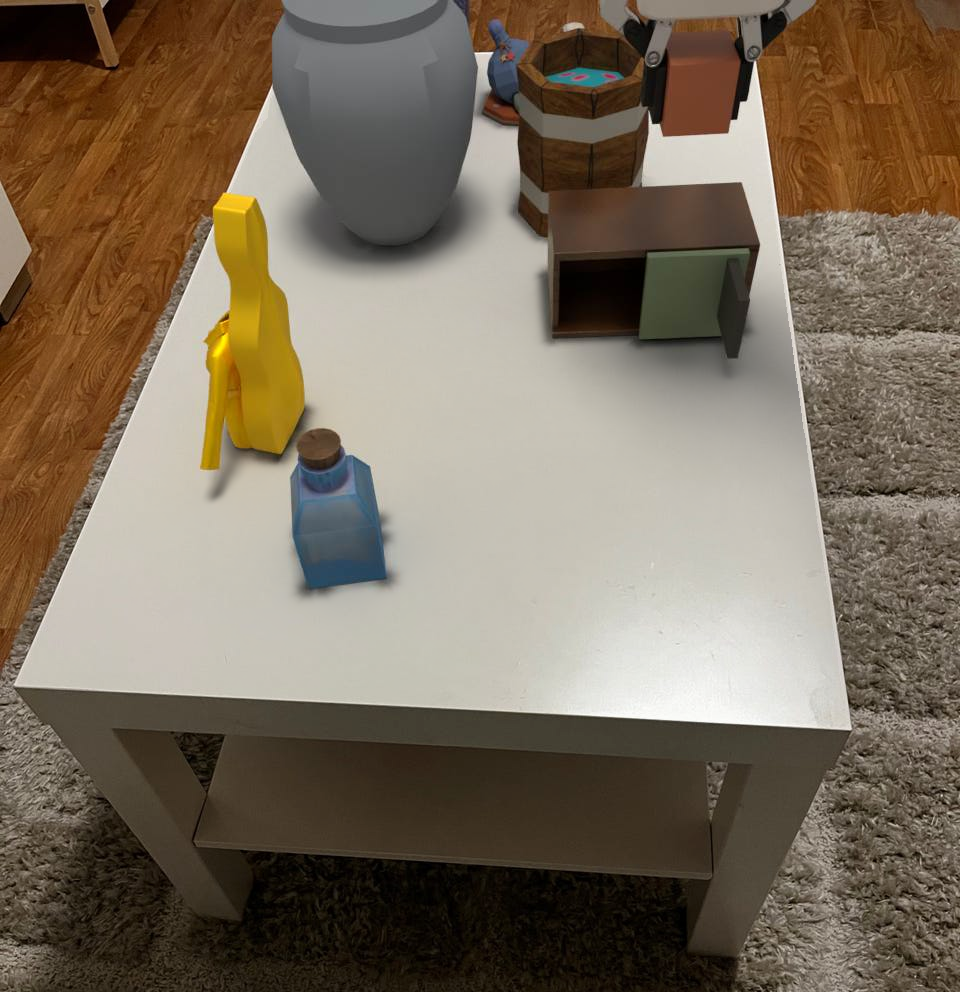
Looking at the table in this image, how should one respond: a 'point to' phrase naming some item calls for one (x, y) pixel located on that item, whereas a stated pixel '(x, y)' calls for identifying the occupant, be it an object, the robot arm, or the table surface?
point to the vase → (377, 107)
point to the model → (503, 76)
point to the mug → (578, 117)
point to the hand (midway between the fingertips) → (691, 110)
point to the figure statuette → (250, 342)
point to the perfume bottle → (334, 513)
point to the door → (696, 296)
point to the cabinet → (632, 247)
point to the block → (699, 83)
